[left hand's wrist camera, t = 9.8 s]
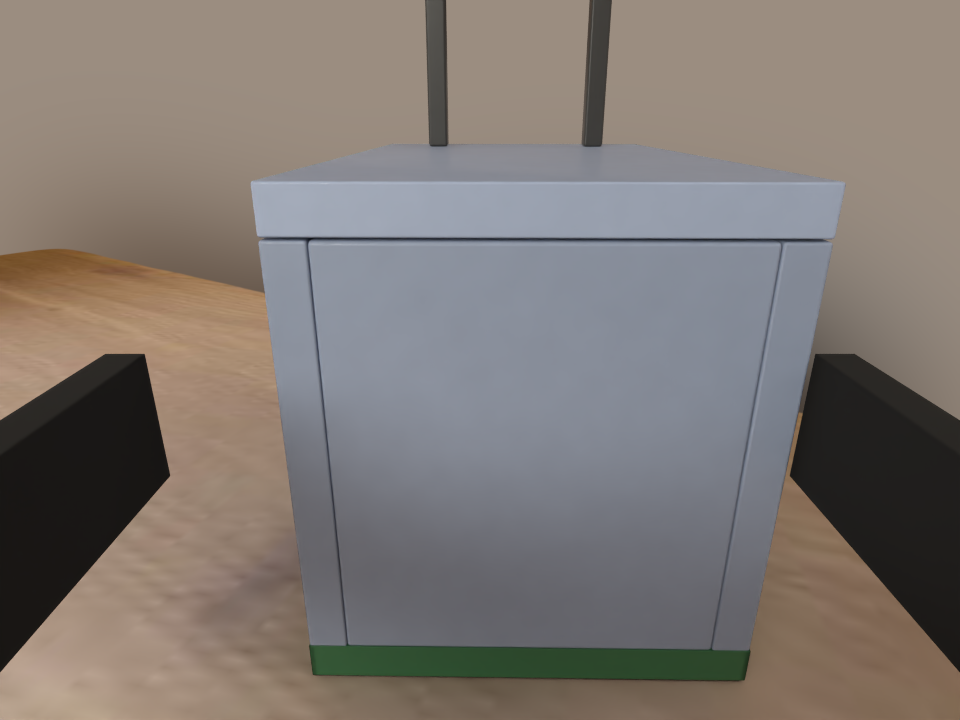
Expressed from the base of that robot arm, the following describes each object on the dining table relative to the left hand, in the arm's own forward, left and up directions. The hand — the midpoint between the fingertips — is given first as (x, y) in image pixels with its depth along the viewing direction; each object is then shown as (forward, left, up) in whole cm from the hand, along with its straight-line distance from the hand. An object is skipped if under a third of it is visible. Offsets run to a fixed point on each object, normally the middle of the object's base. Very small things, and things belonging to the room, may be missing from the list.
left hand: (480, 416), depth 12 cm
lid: (+5, -7, +4) cm, 9 cm away
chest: (+4, -7, -7) cm, 11 cm away
